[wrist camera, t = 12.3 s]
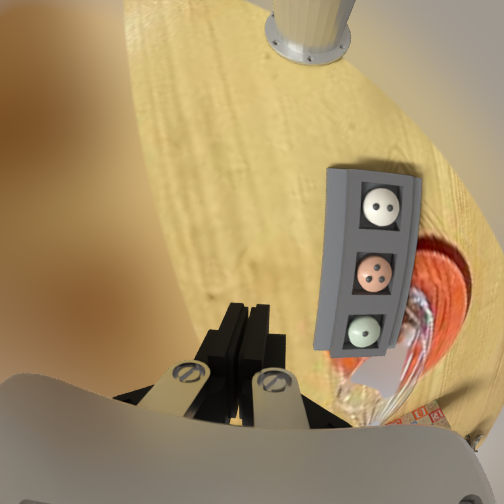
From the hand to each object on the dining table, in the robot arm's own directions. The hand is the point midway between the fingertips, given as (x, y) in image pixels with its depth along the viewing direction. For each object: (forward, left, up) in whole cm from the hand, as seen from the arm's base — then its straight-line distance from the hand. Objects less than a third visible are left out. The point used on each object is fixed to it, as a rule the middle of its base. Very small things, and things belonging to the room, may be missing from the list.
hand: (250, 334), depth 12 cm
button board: (+5, +14, -27) cm, 31 cm away
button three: (+5, +14, -25) cm, 29 cm away
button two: (-4, +14, -25) cm, 29 cm away
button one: (+14, +14, -25) cm, 32 cm away
